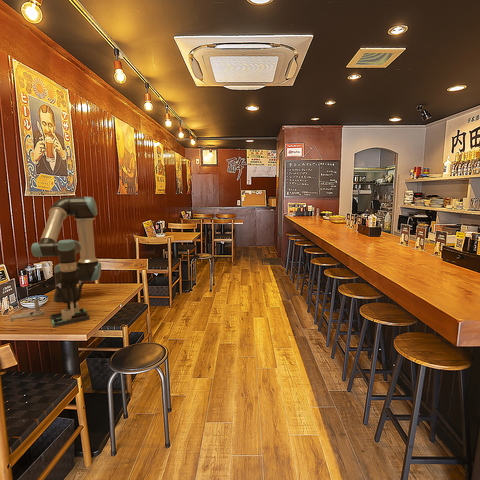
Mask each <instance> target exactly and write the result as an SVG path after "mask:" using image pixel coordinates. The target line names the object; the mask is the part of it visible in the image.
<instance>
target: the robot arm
mask: <svg viewBox="0 0 480 480" xmlns="http://www.w3.org/2000/svg"><path fill="white" fill-rule="evenodd" d="M48 215H49V216H48V217H47V221H46V224H45V227H44V230H43V232H42V234H41V237H40V240H39V242H33V243H32V244H31V248H30V251H31V254H32V256H33V257H35V258H45V257H46V258H47V257H48V258H49V257H58V260H59V261H58V264H56V265H54V269H53V270H54V273H53V274H54V281H55V282H54V283H55V290H54V294H53V301H54V302H56V303H63V304H66V305H67V307H66V308H67V309H68V310H69V309H70V310H71V316H73V315H74V308H76V302H78V301H80V299H81V295H82V294H81V293H82V288H83V286H84V284H85V283H84V282H94V281H98V280H99V279H100V278H101V273H102V263H101V262H100V261H99V259H98V258H97V257H96V249H95V239H94V238H95V235H94V222H93V221H94V220H95V219H96V216H97V215H98V207H97V203H96V200H95V199H94V197H93V196H65V197H61V198H60V199H57V200H56V201H55V202H54V203H53V204H52V205H51V206H50V207H49V210H48ZM69 216H70V217H71V216H73V217H74V220H75V221H77V222H76V223H77V232H78V234H77V235H78V241H77V240H74V239H61V240H59V241H58V238H59V235H60V232H61V229H62V226H63V222H64V220H65V219H67V217H69ZM78 254H79V257H80V258H79V259H78V261H77V255H78Z"/></svg>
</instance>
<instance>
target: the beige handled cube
mask: <svg viewBox="0 0 480 480" xmlns="http://www.w3.org/2000/svg"><path fill="white" fill-rule="evenodd" d="M60 313H61V315H62V321H64V320H70V319H72V316H71V310H70V309H69V310H68V308H67V307H64V309H60Z"/></svg>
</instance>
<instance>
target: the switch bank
mask: <svg viewBox="0 0 480 480" xmlns="http://www.w3.org/2000/svg"><path fill="white" fill-rule="evenodd" d="M49 318H50V321H51V325H52V327H53V328H58V327H60V326H61V327H62V326H66V325H72V324H75V323H78V322H85V321H89V320H90V315H89V314H88V312H87V311H86V309H85V307H82V308H79V312H77V313H74V315H73V316H72V319H70V320H64V321H62V315H61V312H57V313H52V314H49Z"/></svg>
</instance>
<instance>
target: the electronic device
mask: <svg viewBox="0 0 480 480" xmlns="http://www.w3.org/2000/svg"><path fill="white" fill-rule="evenodd" d="M33 302H34V303H33V304H34V311H31V312H30V311H29V312H24V313H23V312H22V313H16V314H12V315H11V316H10V321H11V322H12V323H13V322H14V320H19V319H21V320H22V319H29V318H35V317H41V316H43V315H44V314H45V312H44V310H41V309H40V304H39V303H40V302H39V299H37V298H36V299H34V300H33Z"/></svg>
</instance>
